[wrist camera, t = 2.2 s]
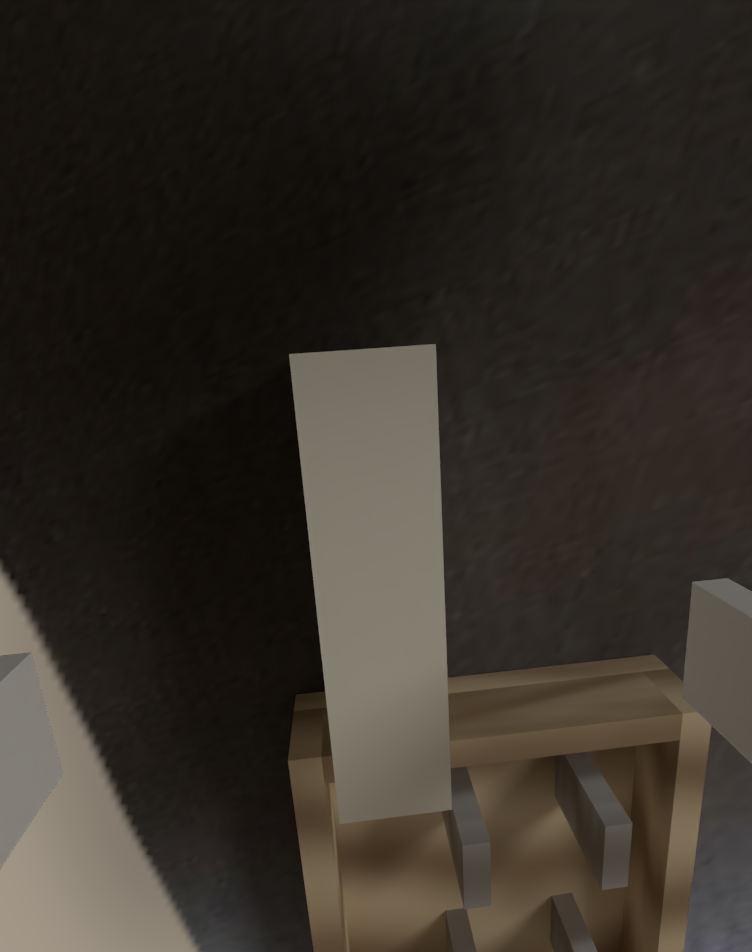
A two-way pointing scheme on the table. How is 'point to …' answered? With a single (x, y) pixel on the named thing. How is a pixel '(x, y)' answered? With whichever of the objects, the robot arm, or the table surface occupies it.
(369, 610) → the beige rectangular block
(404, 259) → the table surface
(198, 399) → the table surface
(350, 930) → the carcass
